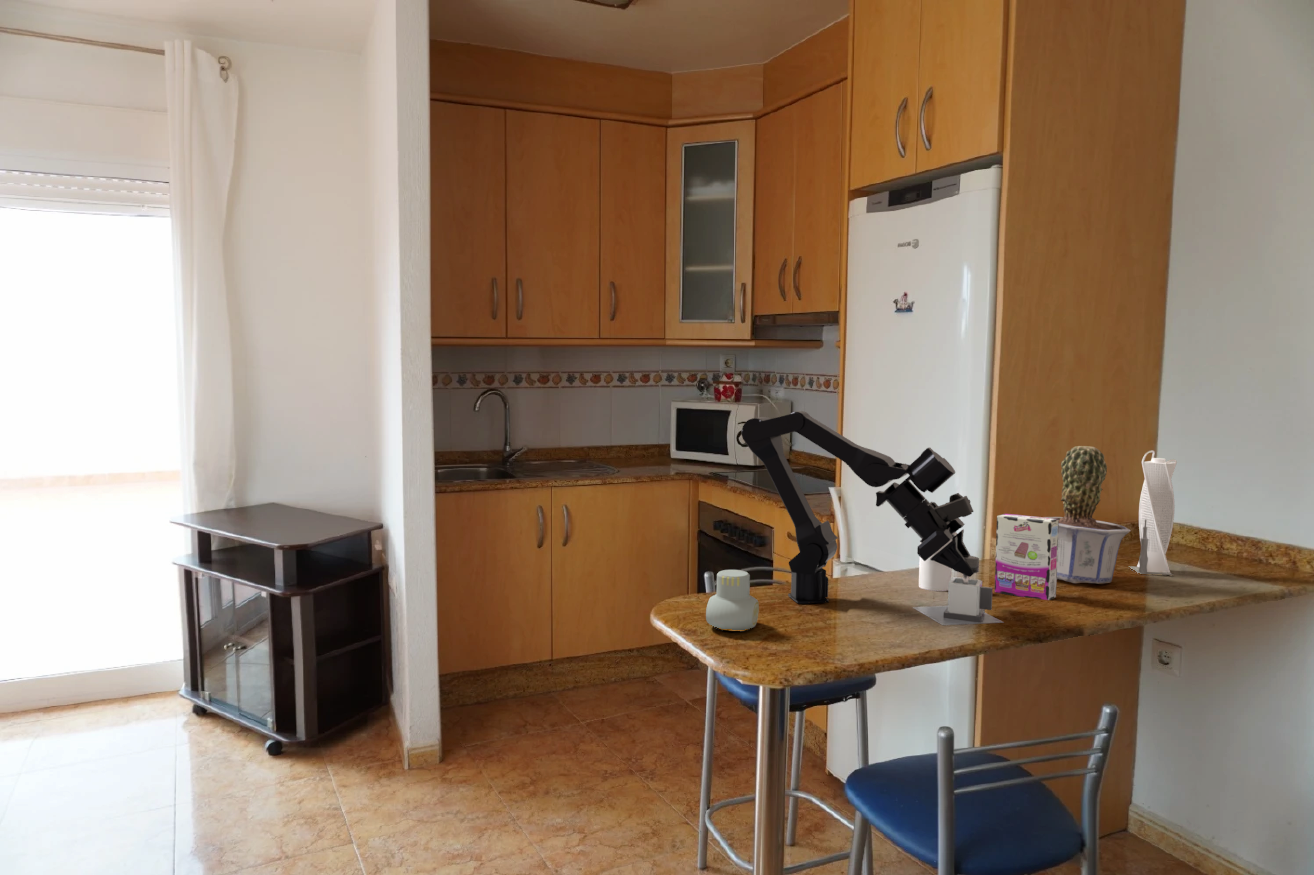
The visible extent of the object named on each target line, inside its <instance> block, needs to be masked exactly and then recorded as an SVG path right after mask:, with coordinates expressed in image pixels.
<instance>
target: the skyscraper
mask: <svg viewBox="0 0 1314 875" xmlns="http://www.w3.org/2000/svg"><path fill="white" fill-rule="evenodd" d="M1149 453H1150V454H1151V453H1152V455H1151V459H1150V460H1147V461H1145V460H1146V457H1147V455H1148V454H1149ZM1155 453H1156V451H1155V450H1152V449H1151V450H1148V451H1147V452H1145V453H1144V456H1143V457H1142V459H1141V466H1142V472H1143V476H1144V480H1143V484H1142V488H1141V492H1140V497H1139V504H1138V527H1139V528H1138V529H1139V530H1138V531H1139V540H1140V553H1139V554H1140V555H1139V557H1138V559H1139V560H1138V563H1137V565H1136V566H1135V565H1134V566H1132V565H1131V566H1128V567H1130V568H1131V569H1133V570H1135V571H1136V572H1137V574H1138V573H1140V574H1162V575H1173V576H1174V574H1173V573H1171V571H1170V567H1169V563H1168V561H1167V560H1168V559H1167V556H1166V555H1167V551H1168V547H1169V544H1170V540H1171V536H1172V533H1173V527H1174V521H1175V494H1174V486H1173V482H1172V477H1173V475H1174V472H1175V470H1176V466H1177V463H1178V462H1177V460H1176V459H1174V458H1173V459H1169V460H1167V459H1166V458H1164V457H1155ZM1166 460H1167V461H1166ZM1131 569H1130V570H1131ZM1133 570H1132V571H1133ZM1136 572H1135V573H1136Z"/></svg>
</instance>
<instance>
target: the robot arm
mask: <svg viewBox="0 0 1314 875" xmlns="http://www.w3.org/2000/svg"><path fill="white" fill-rule="evenodd" d="M740 432H741V433H740V434H741V435H740V436H741V437H742V440H743V441H744V443H745V444H746V445H747V447H748V449H749V450H750V451H751V452H752V454H753V455H755V457H756V458H758V459H759V460H760V461H761V462H762V463H763V465H764V467H765V469H766V471H767V474H768V475H769V478H770V479H771V481H772V483H773V486H774V487H775V489H776V491H777V493H778V495H779V497H780V499H781V501H782V503H783V505H784V507H785V509H786V511H787V514H788V515H789V517H790V519H791V521H792V523H793V525H794V531H795V538H796V539H795V540H796V545H797V547H798V550H799V552H798V553H797V554H796V555H795V556H794V557H793V558H791V560H789V561H788V565H789V569H790V573H791V574H790V575H791V577H790V579H791V581H790V584H791V585H790V587H791V588H790V593H788V595H787V596H788V597H789V598H790V599H792V600H793V601H794V602H795V603H797V604H798V605H799V604H803V605H804V604H821V603H822V604H823V603H826V604H827V603H829V602H830V601H829V599H828V596H829V577H828V576H827V570H826V569H824V568H825V567H826V566H827V564H828V562H829V561H830V560H831V559H832V558H834V556H835V555H836V553H837V549H838V544H837V541H836V540H837V539H839V536H837V535H836V534H835V533H834V532H833V529H832V526H831V523H830V522H829V520H826V521H824V522H821V521H820V519H818V518H817V516H815V513H814V512H813V509H812V508H811V506H810V503H809V502H808V500H807V498H806V496H805V494H804V492H803V489H802V488H801V486H800V484H799V482H798V480H797V478H796V475H795V474H794V471H793V470H792V467H791V466H790V464H789V461H788V459H787V458H786V456H785V453H784V446H783V438H782V436H784V435H787V434H791V433H797V434H799V435H800V436H802V437H804V438H805V439H806V440H808V441H810V442H812V443H813V444H815V445H816V446H818V447H820V448H821V449H823V450H824V451H826V452H828V453H829V454H830V455H833V456H834V457H835V458H838V459H839V460H840V461H842V462H844V463H845V464H846V465H847V466H848V467H849V468H850V470H852V472H853V473H854V474H855V475H856V476H857V477H858V478H859V479H860V480H862V481H863V483H865V484H866V485H868V486H869V487H872V488H880V487H883V486H885V485H887V484H889V483H890V482H892V481H895V480H899V479H901V478H903V477H905V476H907V475H908V477H907V478H905V479H904V480H902V482H901V483H897V482H896V481H895V482H893V483H891V484H890V485H889V486H888V487H887V488H886V489H885V490H883V491H882V490H878V491H877V492H875V496H876V502H875V506H876V507H878V508H879V507H881V506H883V505H884V503H886V502H887V503H888V504H889V505H890V506H891V507H892V508H893V509H894V511H895V512H896V513H897V514H898V515H899V516H900V517H901V518H902V519H903V521H904V522H905V523H904V526H905V527H906V528H907V529H909V528H911V529H912V530H913V532H915V533H916V535H917V536H918V537H919V538H920V540H919V545H918V546H917V555H918V556H919V558H920V557H921V558H922V559H923V560H924V561H926V560H927V559H928V558H929V557H931V556H932V555H933V554H934V553H935V555H934V556H932V557H931V559H930V560H932V561H936V562H938V563H940V564H942V565H945V566H947V567H949V568H951V569H952V570H953V569H954V570H956V571H955V572H957V571H958V572H957V573H959V574H961V575H963V574H964V575H966V576H968V577H969V578H970V577H973V575H974V574H975V573H974V572H973V570H972V569H971V567H970V566H969V564H968V563H967V562H966V560H965V559H964V557H963V556H962V555H968V556H972V555H971V553H970V552H969V551H968V548H967V547H966V545H965V543H964V532H965V530H964V528H963V527H964V525H965V524H966V523H964V521H962V520H961V517H962V518H966V517H968V516H970V515H972V513H974V509H973V507H972V505H971V500H970V499H969V497H968V496H967V495H961V494H960V493H959V492H957V493H954V494H951V495H950V496H949V502H945V503H944V504H941V505H938V504H937V503H936V502H935V501H929V500H928V499H927V498H926V497H925V496H924V495H923V494H922V493H926V492H929V493H932V494H933V493H935V491H937V490H938V489H939V488H940V487H941V486H942V485H944V484H945V483H946V482H947V481H948V480H949V479H951V478H952V477H953V476H955V474H956V471H955V469H954V467H953V466H952V465H951V463H950V462H949V461H948V460H947V459H946V458H945V457H942V456H941V455H940V454H938V453H937V452H936V451H934V450H933V449H932V448H931V447H927V448H925V449H924V450H923V451H922V452H921V454H920V455H919V456H918V457H917V458H916V459H915V460H913V462H911V464H907V463H902V462H897V461H895V460H894V459H893V458H892V457H891V456H889V455H886V454H885V453H881V452H879V451H876V450H874V449H870V448H867V447H865V446H861V445H858V444H857V443H855V442H853V441H851V440H850V439H849V438H847V437H845V436H843V435H841V434H840V433H838V431H836V430H834V429H832V428H831V427H829V426H827V425H826V424H823V423H822V422H821V421H818V420H817V419H816V418H814V417H813V416H811V415H810V413H808V412H807V411H803V410H799V411H793V412H791V413H790V414H789V413H788V414H786V415H780V416H779V417H773V418H772V417H771V418H770V417H769V416H760V417H753V418H750V419H748V420H746V421H745V422H744V424H743V425H742V428H741V431H740ZM961 528H963V529H961ZM960 529H961V530H960ZM959 530H960V531H959ZM958 531H959V532H958ZM957 532H958V533H957ZM921 539H922V540H921ZM920 542H921V544H920ZM954 570H953V571H954Z"/></svg>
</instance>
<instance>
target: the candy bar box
mask: <svg viewBox="0 0 1314 875" xmlns="http://www.w3.org/2000/svg"><path fill="white" fill-rule="evenodd" d="M1043 517H1044V516H1043ZM1043 517H1041V516H1033V515H1031V516H1030V515H1022V514H1013V513H1012V514H1011V513H1003V514H999V515H997V516H996V534H995V536H996V538H995V565H994V566H995V568H994V593H998V594H1002V595H1007V596H1013V595H1014V596H1015V597H1020V598H1027V599H1036V600H1045V601H1051V600H1053V599H1055V598H1056V597H1057V582H1058V581H1057V580H1058V579H1057V552H1058V525H1059V519H1051V518H1043Z"/></svg>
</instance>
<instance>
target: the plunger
mask: <svg viewBox="0 0 1314 875" xmlns="http://www.w3.org/2000/svg"><path fill="white" fill-rule="evenodd" d="M962 556H963V557H964V559H965V560H966V562H967V563H968V564H969V566H970V567H971V569H972V570H973V572H974V574H977V573H979V570H980V568H979V566H980V558H979V557H977V556H974V555H971V556H968V555H962ZM952 570H953V571H954V572H957V573H959V572H958V571H956V570H954V569H952ZM962 578H963V584H968V579H970V577H968V576H966V575H964V574H962Z"/></svg>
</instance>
